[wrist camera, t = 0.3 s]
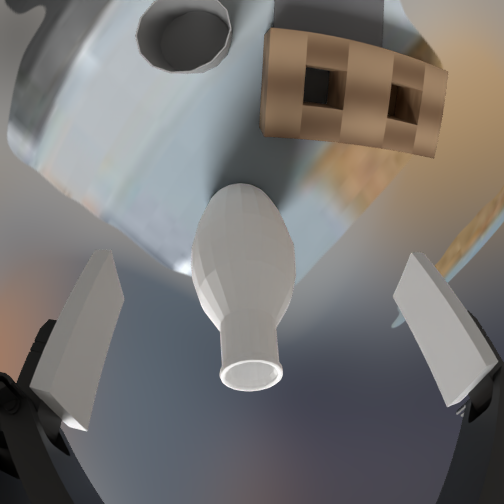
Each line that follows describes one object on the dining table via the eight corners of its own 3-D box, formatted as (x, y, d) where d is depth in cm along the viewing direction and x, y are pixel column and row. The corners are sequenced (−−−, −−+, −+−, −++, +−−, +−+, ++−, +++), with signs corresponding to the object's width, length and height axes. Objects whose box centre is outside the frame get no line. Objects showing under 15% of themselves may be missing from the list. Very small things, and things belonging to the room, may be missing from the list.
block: (264, 35, 27) (270, 27, 22) (422, 68, 29) (448, 71, 24) (259, 127, 34) (264, 136, 29) (410, 145, 36) (433, 158, 31)
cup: (214, 1, 24) (208, -24, 16) (242, 55, 29) (247, 47, 20) (149, 32, 26) (121, 20, 17) (178, 85, 30) (158, 89, 22)
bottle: (202, 247, 43) (187, 409, 22) (196, 175, 37) (156, 328, 16) (277, 245, 44) (314, 403, 23) (282, 174, 38) (345, 321, 17)
